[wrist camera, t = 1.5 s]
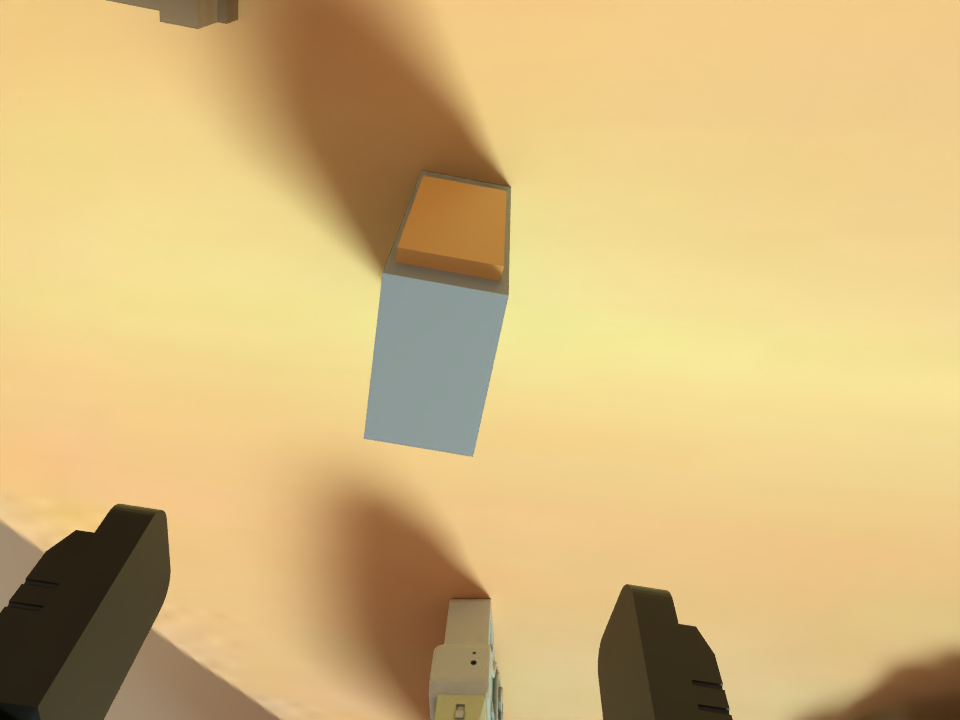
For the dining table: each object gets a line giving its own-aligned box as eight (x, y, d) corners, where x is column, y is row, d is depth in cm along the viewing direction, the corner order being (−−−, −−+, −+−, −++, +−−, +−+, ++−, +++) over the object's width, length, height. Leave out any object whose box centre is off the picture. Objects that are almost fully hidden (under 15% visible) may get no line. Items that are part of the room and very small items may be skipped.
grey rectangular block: (422, 158, 23) (384, 257, 17) (513, 175, 24) (512, 280, 17) (403, 303, 26) (364, 438, 19) (484, 317, 26) (473, 456, 20)
